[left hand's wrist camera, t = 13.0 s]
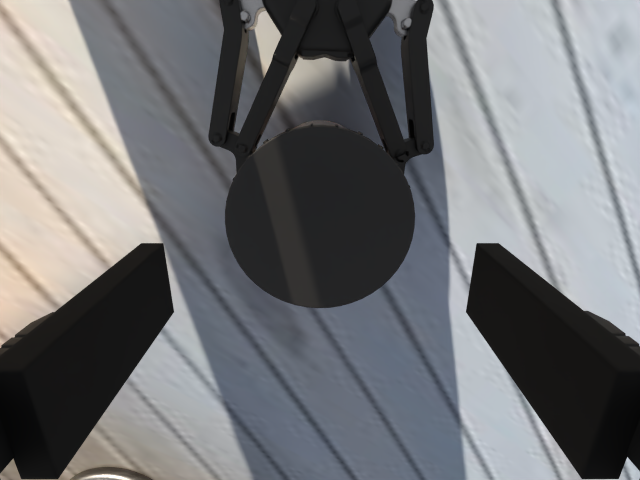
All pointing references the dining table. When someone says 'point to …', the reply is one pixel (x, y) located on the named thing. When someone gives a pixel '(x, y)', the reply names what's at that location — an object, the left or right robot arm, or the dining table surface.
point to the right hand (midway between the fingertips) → (317, 238)
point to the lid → (319, 216)
